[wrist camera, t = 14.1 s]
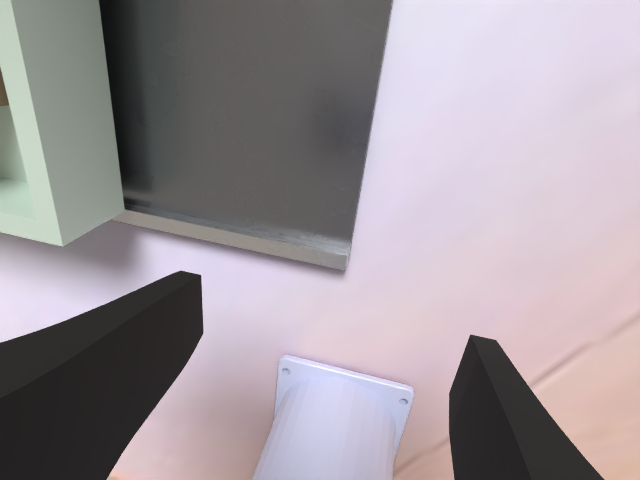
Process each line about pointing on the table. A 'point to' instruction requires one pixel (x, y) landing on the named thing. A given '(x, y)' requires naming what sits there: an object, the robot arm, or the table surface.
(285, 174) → the track plate
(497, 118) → the table surface
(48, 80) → the pale green square tray
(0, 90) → the walnut block
